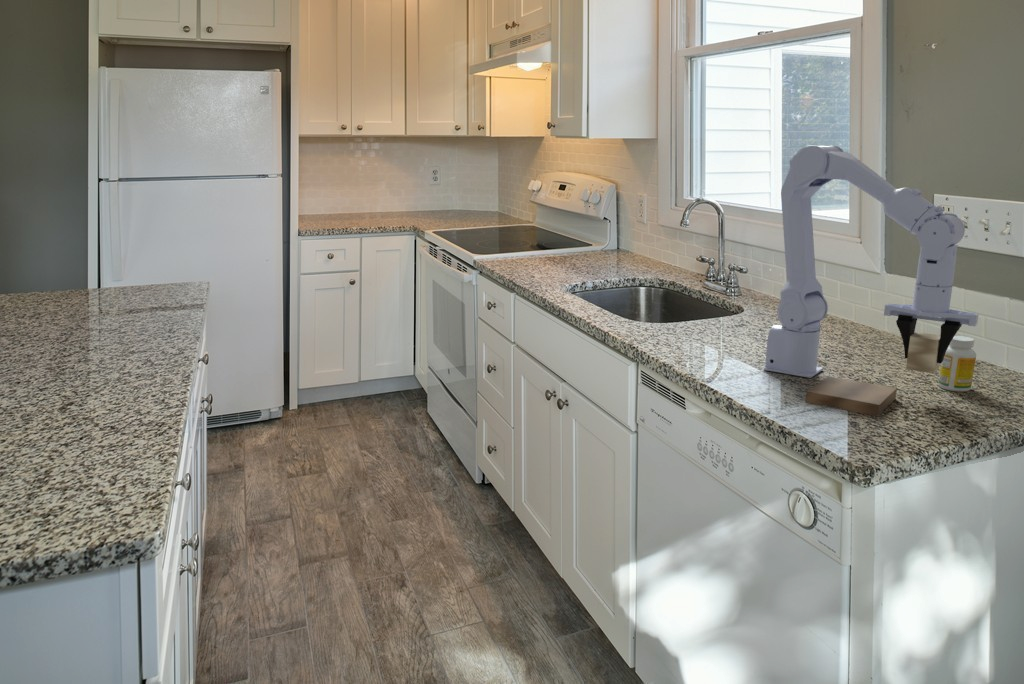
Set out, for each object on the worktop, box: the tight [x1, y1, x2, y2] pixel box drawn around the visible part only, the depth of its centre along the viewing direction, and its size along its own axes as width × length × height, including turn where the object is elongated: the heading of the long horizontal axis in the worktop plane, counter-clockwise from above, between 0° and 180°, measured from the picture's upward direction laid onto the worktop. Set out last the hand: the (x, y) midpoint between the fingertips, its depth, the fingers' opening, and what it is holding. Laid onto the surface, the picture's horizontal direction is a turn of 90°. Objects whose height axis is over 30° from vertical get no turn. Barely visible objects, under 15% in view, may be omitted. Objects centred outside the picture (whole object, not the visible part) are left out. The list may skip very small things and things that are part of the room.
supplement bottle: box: [938, 335, 977, 393], centre depth 145 cm, size 5×5×10 cm
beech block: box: [905, 331, 941, 374], centre depth 139 cm, size 4×4×6 cm
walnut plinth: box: [805, 376, 898, 417], centre depth 138 cm, size 12×12×2 cm
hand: (923, 359), depth 139 cm, fingers closed on beech block, 4 cm apart
